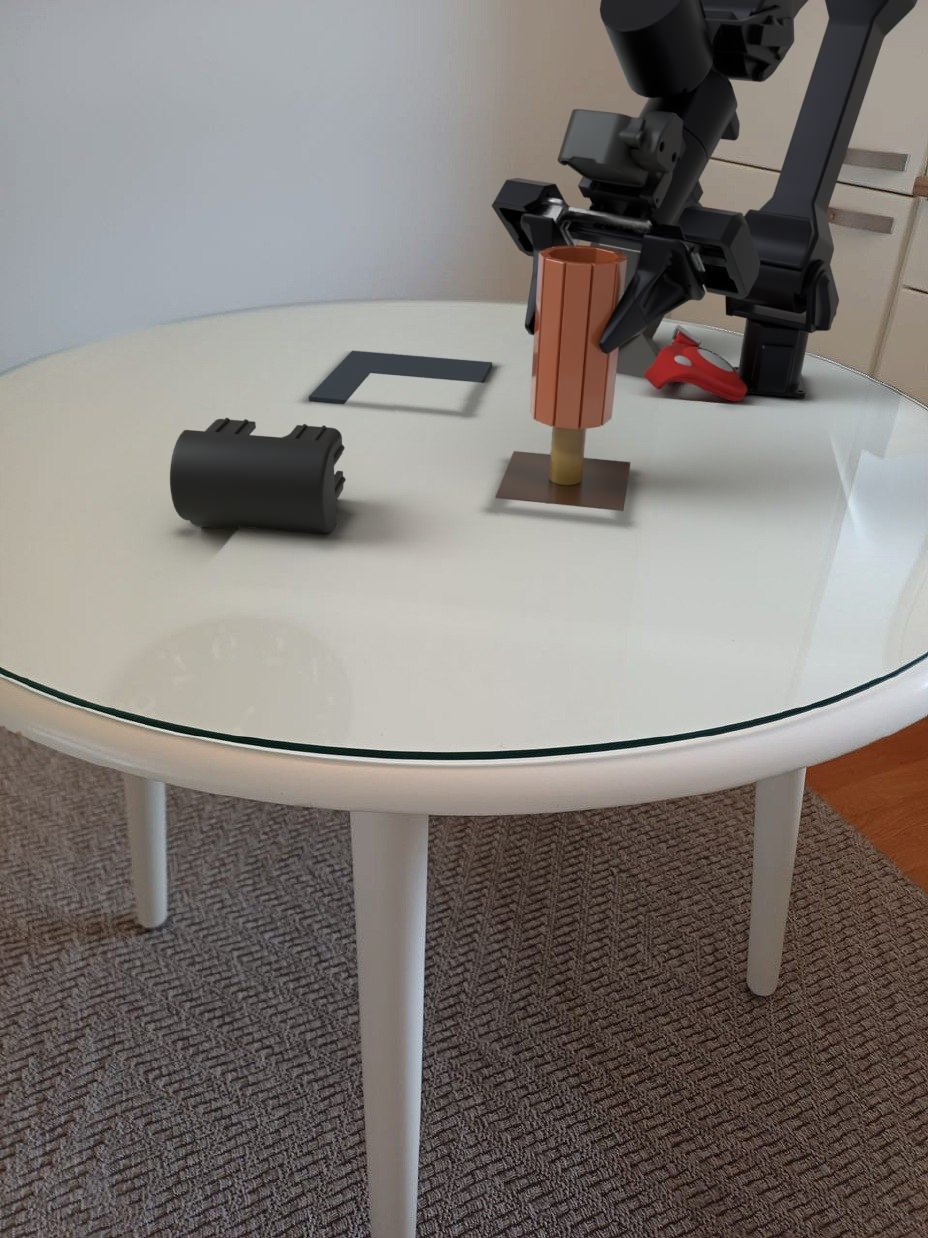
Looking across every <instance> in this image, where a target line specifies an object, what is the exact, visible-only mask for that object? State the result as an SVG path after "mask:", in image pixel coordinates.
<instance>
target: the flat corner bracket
mask: <svg viewBox="0 0 928 1238" xmlns="http://www.w3.org/2000/svg"><path fill="white" fill-rule="evenodd" d="M492 367H493V362H492V361H481V360H469V359H459V358H446V357H434V356H421V355H409V354H398V353H385V352H375V351H373V352H372V351H362V350H351V351H350V352H349V354H347V355H346V356H345V357H344V358H343V360H342V361H340V363H339V364H338V365H337V366H336V367H335V368H334V369H333V370H332V371H331V372H330V373H329V374H328V375H327V376H326V377H325V379H323V381H322V382H321V383H320V384H319V385H318V386H317V387H316V388H315V389H314V390H313V391H312V392H311V393H310V394H309V396H308V401H310V402H320V403H332V404H343V405H344V404H346V403H347V402H348V400H349V399H350V398H351V397H352V396H353V394H355V392H356V391H357V390H358V389H359V387H360V386H361V385H362V384H363V383H364V382H365V381H366V379H367V378H368V377H369V376H370V375H371V374H374V375H375V374H377V375H388V376H398V377H399V376H400V377H412V378H424V379H433V380H434V379H435V380H445V381H446V380H447V381H456V382H457V381H458V382H469V383H479V384H480V383H482V384H484V383H485V380H486V378H487V377H488V375H489V373H490V372H491V369H492Z"/></svg>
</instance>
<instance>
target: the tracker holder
mask: <svg viewBox="0 0 928 1238" xmlns="http://www.w3.org/2000/svg"><path fill="white" fill-rule="evenodd" d="M671 340H672V341H673V342H672V343H671V344H669V345H666V346H665V347H663V348H662V349H661V351H660V353H659V355H658V356H657V358H656V360H655V362H654V364H653V365H652V366H651V367H650V368H649V369H648V370H647V371H646V372H645V374H644V376H645V378H646V379H645V378H644V379H645V380H647V381H648V382H649V383H650V384H651V385H652V386H653V387H654V388H655V389H656V390H658V391H660V390H662V389H663V388H664V387H665V386H666V385H667V384H669V383H668V382H669V381H676V382H675V383H677V382H678V383H688V384H691V385H693V386H695V387H697V388H700V389H702V390H704V391H706V392H708V393H709V394H712V395H715V396H717V397H719V398H722V399H724V400H727V401H730V402H742V401H743V400H744V398H745V395H746V394H747V393H746V392H747V386H746V384H745V383H744V381H743V380H742V379H741V378H740V377H739V376H738V374H737V372H736V370H735V369H734V368H733V367H734V366H732V365H731V363H729V362H728V361H727V360H726V359H724V358H723V357H722V356H720V355H719V354H716V353H715V352H713V351H711V350H709V349H706V348H703V347H700V346H701V344H702V341H703V340H701V339H700V338H698V337H697V336H695V335H694V334H692V333H691V332H690V331H688V330H687V329H685V328H684V327H682V326H681V325H680V324H677V325H676V326H675V328H674V330H673V333H672V335H671Z"/></svg>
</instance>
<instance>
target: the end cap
mask: <svg viewBox="0 0 928 1238" xmlns="http://www.w3.org/2000/svg"><path fill="white" fill-rule="evenodd" d="M256 423H257V422H256V421H251V420H249V419H247V418H245V419H243V420H239V419H230V418H229V417H224V418H217V419H215V420H214V421H213V422H212V423H211V424H210V425H209V426H208V427H207V428H206V429H205V430H193V429H183V431H181V433H180V434H179V436H178V437H177V439H176V442H175V444H174V447H173V450H172V456H171V460H170V467H169V488H170V489H169V490H170V495H171V497H170V498H171V501H172V504H173V508H174V510H175V512H176V514H178V516H179V517H180V518H181V519H182V520H184V521H189V523H190V524H192V525H193V526H196V527H200V528H209V529H222V530H232V531H238V530H239V529H240V528H248V529H249V528H250V529H261V530H272V531H282V532H293V533H303V534H312V535H313V534H315V535H324V534H329V533H330V534H331V532H332V531H334V530H335V528H336V526H337V511H336V503H337V500H338V498H339V497H340V495H341V494H342V492H343V491H344V487H345V486H344V485H345V482H346V481H347V479H346V477H345V476H344V471H343V470H336V472H335V466H336V465H337V463H338V461H339V460H340V458H341V457H342V455H343V452H344V451H345V445H344V444H343V436H342V432H341V431H339V430H338V429H337V428H335V427H328V426H326V425H325V424H324V425H323V424H322V426H314V425H308V424H306V423H303V424H296V426H294V428H293V429H292V431H291V432H289V434H287V435H285V436H279V437H278V436H268V435H267V436H266V435H255V434H252V433H253V432H254V431H255V430H256V428H257V424H256Z"/></svg>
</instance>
